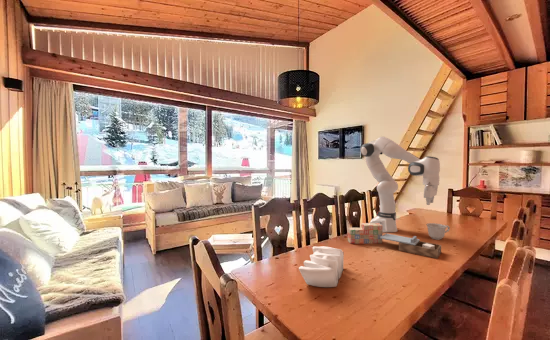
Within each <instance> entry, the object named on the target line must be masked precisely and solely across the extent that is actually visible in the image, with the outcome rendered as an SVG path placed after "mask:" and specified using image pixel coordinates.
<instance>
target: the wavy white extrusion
mask: <svg viewBox="0 0 550 340" xmlns="http://www.w3.org/2000/svg"><path fill="white" fill-rule="evenodd" d="M312 252H313V254H309V259H310V260H307V259H306V260H304V261H303V265H300V266H299V267H298V270H299V272H300V274H301V277H302V278H303V280H304V281H305V283H306V285H310V286H313V287H318V288H335V287H338V284H339V280H340V278H341V277H342V273H343V271H344V260H345V259H344V251H343V250H342V249H341V248H336V247H335V248H334V247H330V246H327V245H326V246H323V245H322V246H317V245H316V246H312Z"/></svg>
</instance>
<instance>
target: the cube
mask: <svg viewBox="0 0 550 340" xmlns="http://www.w3.org/2000/svg"><path fill="white" fill-rule="evenodd" d="M428 243H429V242H428ZM428 243H427V244H423V245H422V247H424V248H429V249H434V250H435V246H434V245H431V244H428Z"/></svg>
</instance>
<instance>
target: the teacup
mask: <svg viewBox="0 0 550 340" xmlns="http://www.w3.org/2000/svg"><path fill="white" fill-rule="evenodd" d="M426 226H427V232H428V233H427V235H428V236H429V237H430V238H431V239H432V240H437V241H438V240H439V241H440V240H442V239H443V238H444V237H445V234H446V233H449V231H450V226H449V225H445V224H441V223H434V222H433V223H432V222H429V223H426Z"/></svg>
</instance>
